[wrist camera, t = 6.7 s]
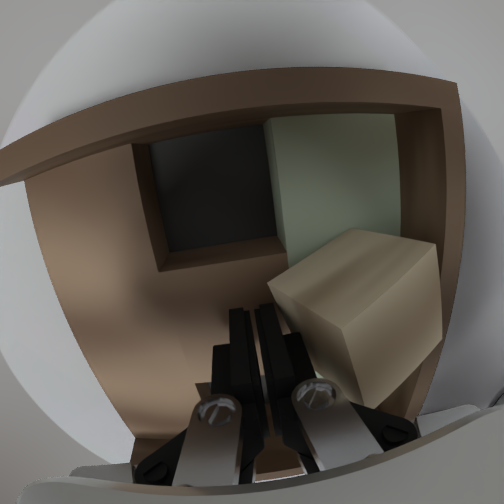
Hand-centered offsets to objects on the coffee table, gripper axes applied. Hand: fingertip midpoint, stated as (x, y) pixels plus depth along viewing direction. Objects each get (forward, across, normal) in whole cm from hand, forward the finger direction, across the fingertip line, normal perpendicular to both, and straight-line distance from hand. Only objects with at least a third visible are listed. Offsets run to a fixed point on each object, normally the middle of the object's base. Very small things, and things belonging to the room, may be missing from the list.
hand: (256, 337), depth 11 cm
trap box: (+4, 0, 0) cm, 4 cm away
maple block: (0, -3, -1) cm, 3 cm away
